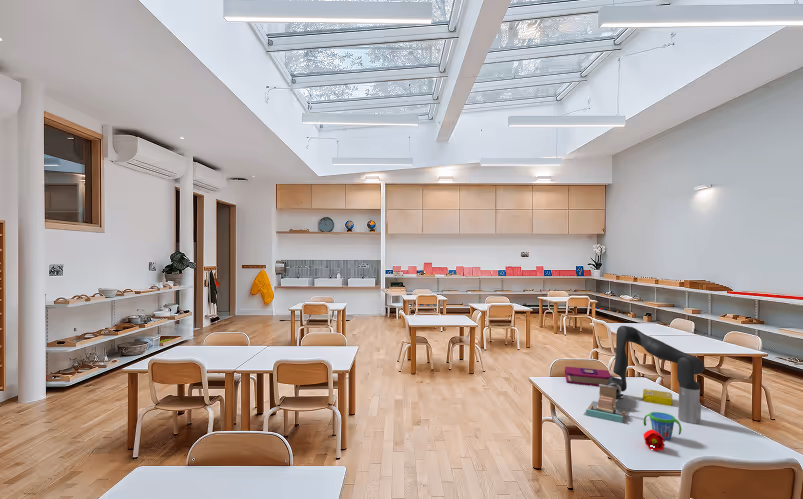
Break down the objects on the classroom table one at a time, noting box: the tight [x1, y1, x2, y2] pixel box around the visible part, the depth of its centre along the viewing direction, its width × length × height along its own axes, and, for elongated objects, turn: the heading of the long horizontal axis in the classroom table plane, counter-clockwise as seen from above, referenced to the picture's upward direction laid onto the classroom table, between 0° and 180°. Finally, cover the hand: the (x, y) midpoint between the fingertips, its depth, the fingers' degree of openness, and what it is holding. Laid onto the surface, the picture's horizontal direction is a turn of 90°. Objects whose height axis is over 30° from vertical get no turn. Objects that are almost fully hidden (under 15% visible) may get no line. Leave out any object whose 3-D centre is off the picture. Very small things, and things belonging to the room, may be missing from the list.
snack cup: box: [643, 411, 682, 440], centre depth 212 cm, size 16×10×10 cm
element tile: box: [642, 388, 673, 407], centre depth 266 cm, size 15×15×5 cm
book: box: [564, 366, 613, 387], centre depth 303 cm, size 21×28×8 cm
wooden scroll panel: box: [596, 384, 617, 414], centre depth 239 cm, size 11×9×14 cm
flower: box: [643, 429, 666, 452], centre depth 200 cm, size 8×8×8 cm
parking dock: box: [583, 400, 632, 425], centre depth 243 cm, size 28×20×4 cm
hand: (608, 398), depth 245 cm, fingers closed
